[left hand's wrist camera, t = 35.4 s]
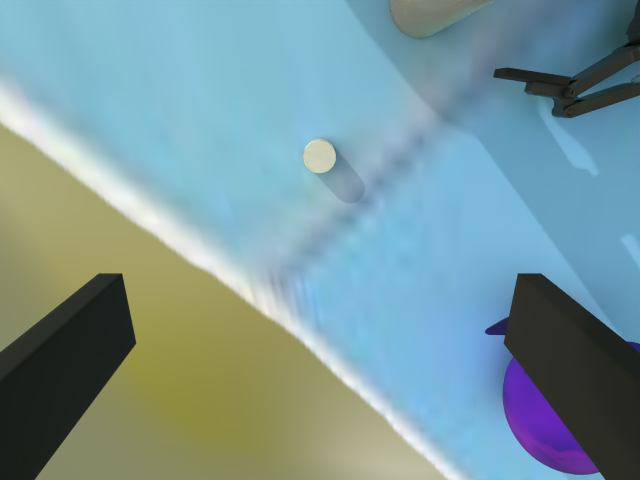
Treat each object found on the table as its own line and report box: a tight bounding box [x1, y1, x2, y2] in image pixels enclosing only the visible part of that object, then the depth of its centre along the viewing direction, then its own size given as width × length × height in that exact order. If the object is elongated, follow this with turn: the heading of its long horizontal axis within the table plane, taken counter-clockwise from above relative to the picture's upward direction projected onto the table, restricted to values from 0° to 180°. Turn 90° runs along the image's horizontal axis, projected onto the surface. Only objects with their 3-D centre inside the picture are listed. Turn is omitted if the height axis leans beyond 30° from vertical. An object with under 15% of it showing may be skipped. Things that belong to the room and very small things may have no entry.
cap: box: [303, 139, 336, 173], centre depth 46 cm, size 4×4×2 cm
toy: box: [485, 317, 640, 475], centre depth 49 cm, size 16×18×27 cm
